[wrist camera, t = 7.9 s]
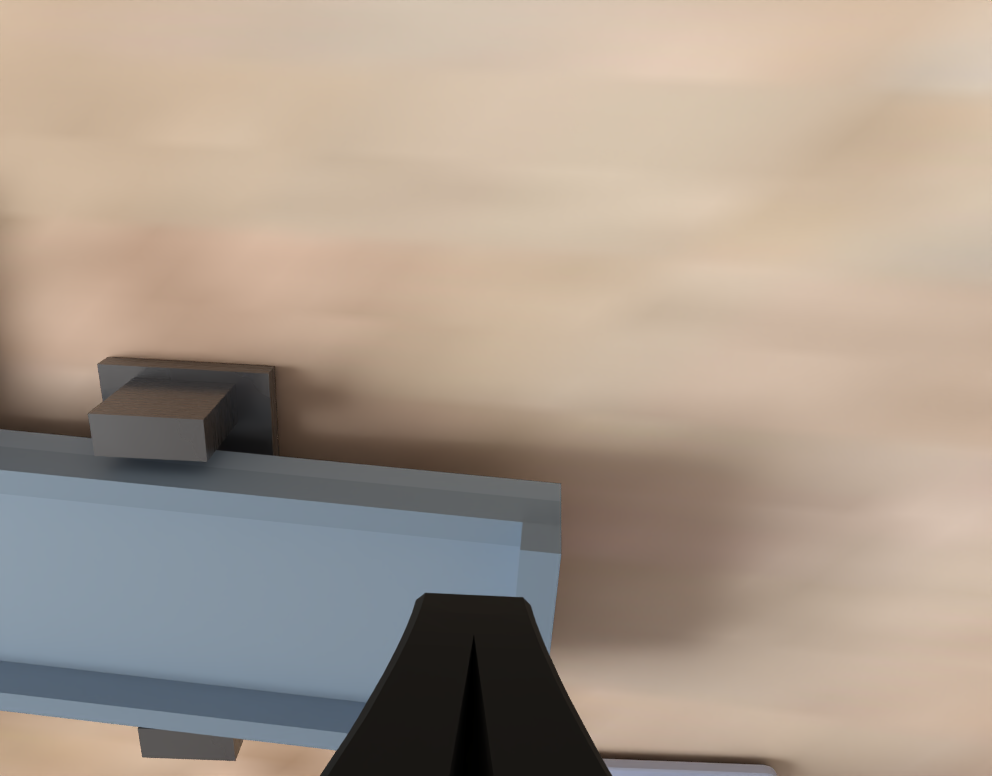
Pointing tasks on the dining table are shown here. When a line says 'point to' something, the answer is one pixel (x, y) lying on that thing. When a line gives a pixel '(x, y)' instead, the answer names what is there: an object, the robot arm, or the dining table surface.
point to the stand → (184, 454)
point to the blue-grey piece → (241, 581)
